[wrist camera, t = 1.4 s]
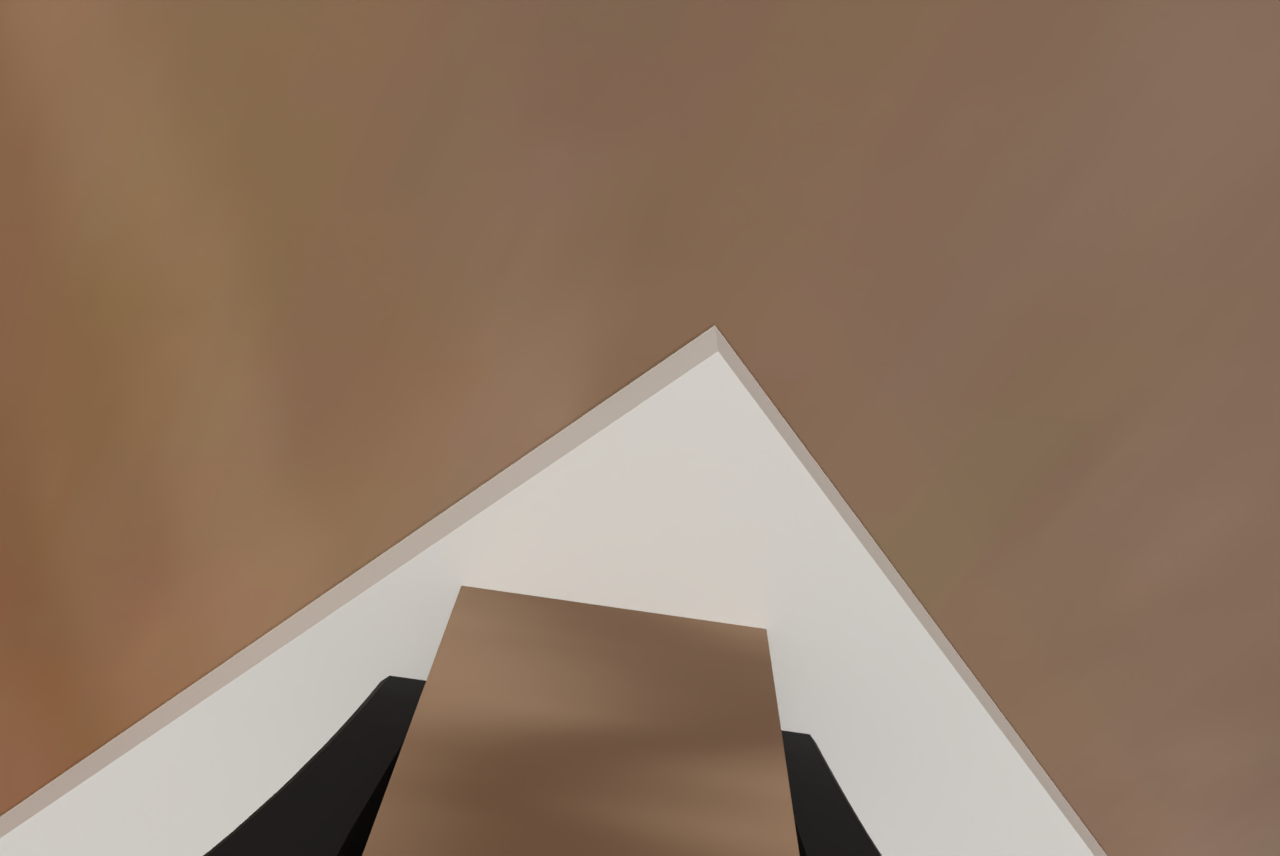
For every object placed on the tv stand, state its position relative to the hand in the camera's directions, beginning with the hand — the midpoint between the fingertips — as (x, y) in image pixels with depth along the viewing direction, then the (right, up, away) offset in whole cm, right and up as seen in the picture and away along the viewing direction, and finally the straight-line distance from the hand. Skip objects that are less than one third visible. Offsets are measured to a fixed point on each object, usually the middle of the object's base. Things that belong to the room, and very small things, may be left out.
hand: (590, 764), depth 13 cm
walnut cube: (0, 0, +1) cm, 1 cm away
